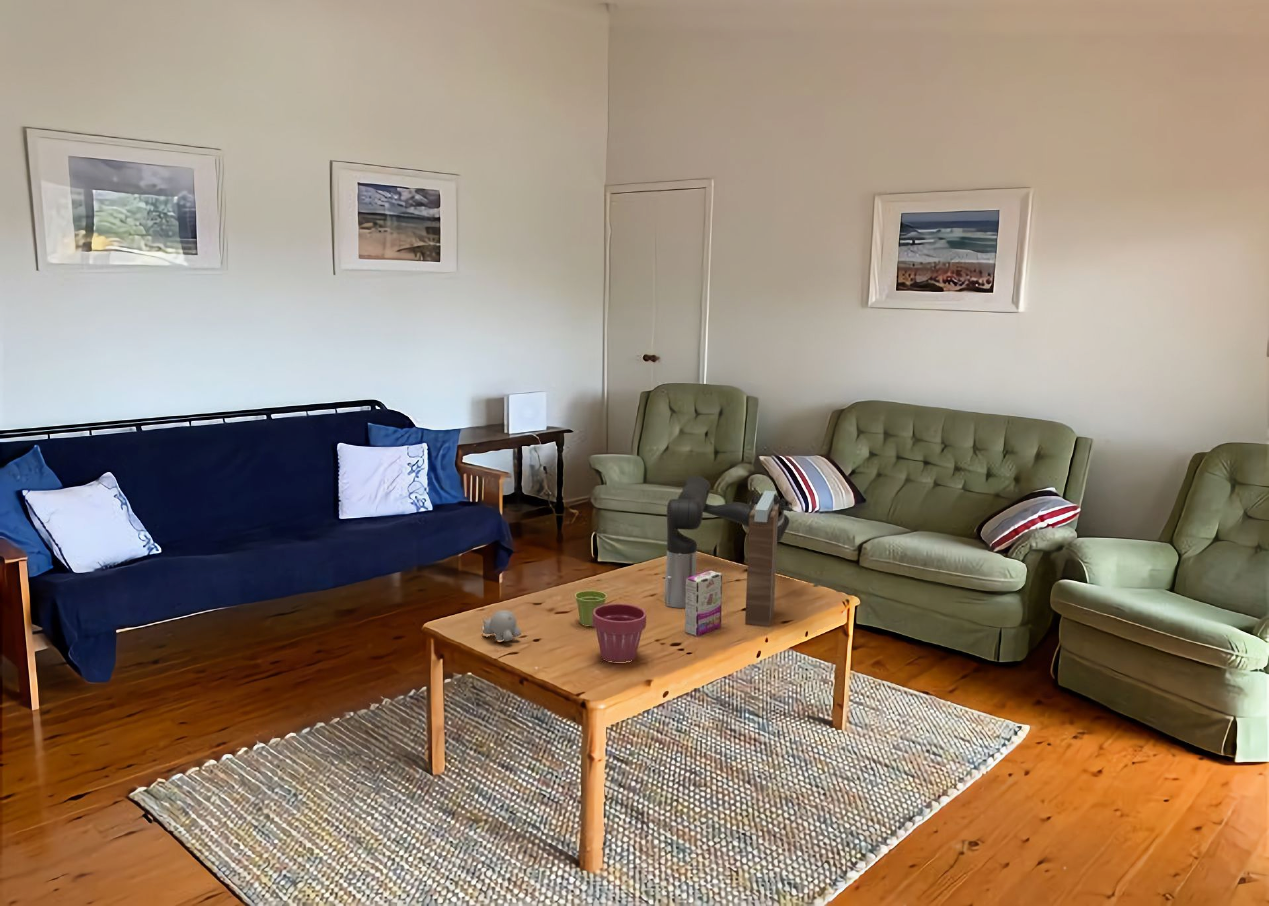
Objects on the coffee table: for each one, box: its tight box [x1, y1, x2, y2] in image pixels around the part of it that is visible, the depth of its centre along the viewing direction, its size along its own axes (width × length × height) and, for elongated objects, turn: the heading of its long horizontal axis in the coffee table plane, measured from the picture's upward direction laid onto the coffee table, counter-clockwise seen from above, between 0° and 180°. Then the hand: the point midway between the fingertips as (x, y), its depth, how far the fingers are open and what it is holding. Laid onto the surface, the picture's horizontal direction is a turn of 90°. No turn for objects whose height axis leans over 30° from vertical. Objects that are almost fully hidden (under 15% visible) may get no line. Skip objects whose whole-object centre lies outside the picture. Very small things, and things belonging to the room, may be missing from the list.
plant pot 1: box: [574, 590, 608, 627], centre depth 279 cm, size 9×9×9 cm
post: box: [744, 503, 778, 628], centre depth 284 cm, size 14×7×33 cm, turn 166°
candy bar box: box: [684, 570, 723, 637], centre depth 275 cm, size 11×5×16 cm, turn 136°
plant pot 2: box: [592, 603, 647, 662], centre depth 254 cm, size 14×14×13 cm
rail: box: [754, 490, 777, 522], centre depth 284 cm, size 26×4×4 cm, turn 166°
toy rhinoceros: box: [481, 609, 522, 642], centre depth 266 cm, size 7×12×8 cm, turn 55°
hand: (768, 496), depth 290 cm, fingers closed on rail, 3 cm apart
